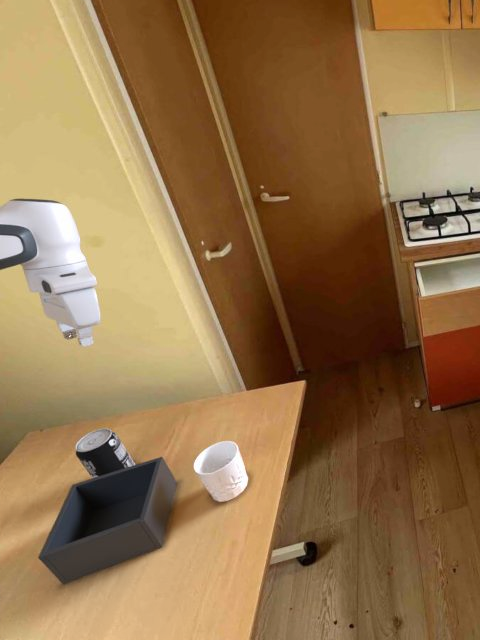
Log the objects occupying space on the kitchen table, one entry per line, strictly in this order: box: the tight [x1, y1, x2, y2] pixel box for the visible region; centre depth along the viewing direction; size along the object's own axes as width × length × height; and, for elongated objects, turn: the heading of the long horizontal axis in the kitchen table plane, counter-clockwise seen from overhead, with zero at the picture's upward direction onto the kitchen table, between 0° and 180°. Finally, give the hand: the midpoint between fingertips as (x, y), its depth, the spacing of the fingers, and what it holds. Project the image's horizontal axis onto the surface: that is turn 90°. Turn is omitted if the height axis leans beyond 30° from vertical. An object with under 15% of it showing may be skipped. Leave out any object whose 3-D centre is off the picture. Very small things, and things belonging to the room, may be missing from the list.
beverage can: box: [74, 427, 136, 479], centre depth 91 cm, size 7×7×12 cm
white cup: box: [192, 440, 249, 503], centre depth 90 cm, size 8×8×10 cm
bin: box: [37, 456, 178, 585], centre depth 82 cm, size 15×15×9 cm
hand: (78, 341), depth 88 cm, fingers open, 8 cm apart
